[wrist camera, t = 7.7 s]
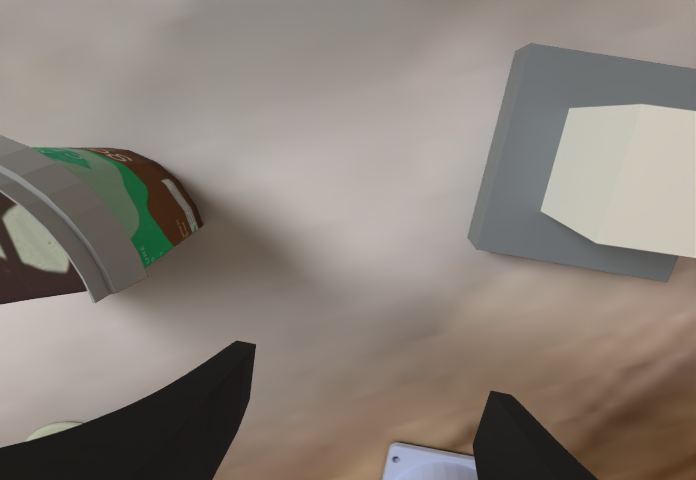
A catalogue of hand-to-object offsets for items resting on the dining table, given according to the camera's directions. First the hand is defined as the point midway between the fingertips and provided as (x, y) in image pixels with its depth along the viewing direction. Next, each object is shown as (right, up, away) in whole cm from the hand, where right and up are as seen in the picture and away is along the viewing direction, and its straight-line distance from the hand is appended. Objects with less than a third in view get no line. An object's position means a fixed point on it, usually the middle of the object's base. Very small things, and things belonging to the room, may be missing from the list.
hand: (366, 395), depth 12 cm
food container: (-14, +8, +10) cm, 18 cm away
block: (+11, +8, +5) cm, 14 cm away
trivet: (+11, +8, +7) cm, 15 cm away
